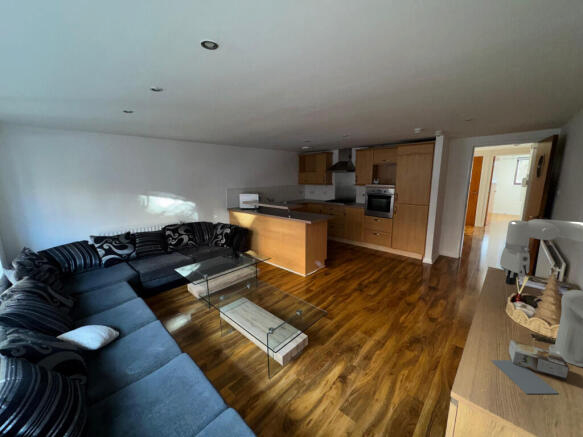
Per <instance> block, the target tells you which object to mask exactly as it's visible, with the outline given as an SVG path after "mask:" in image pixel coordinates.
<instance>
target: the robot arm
mask: <svg viewBox="0 0 583 437" xmlns="http://www.w3.org/2000/svg"><path fill="white" fill-rule="evenodd" d="M557 237H558V238H563V239H568V240H571V241H575V242H578V243H580V242H581V243H583V221H569V220H559V219H558V220H557V219H545V218H544V219H542V218H539V219H538V218H534V219H529V220H528V221H525V220H517V219H515V220H510V221H509V222H508V225H507V232H506V239H505V246H504V247H503V250H502V252H501V256H500V261H499V264H500V266H501V267H500V268H501V269H502V270H504V272H505V276H506V279H505V284H506V285H509V286H515V285H516V283H517V278H523V277H526V274H528V273H530V272H529V271H530V262H531V261H530V260H531V259H530V258H531V257H530V252H529V251H530V248H529V243H530V238H531V239H537V240H543V241H549V240H554V239H556V238H557ZM560 302H561V315H560V319H559V325H558V328H557V332H556V338H555V344H550V345H549V347H548V349H549V350H548V351H551V352H554V353H557V354H561V356H562V357H563V359H564V360H565V362H566V363H567V364H570V365H573V366H576V367H579V368H583V290H580V289H571V290H567V291H565V292H564V293H563V294H562V296H561V300H560Z"/></svg>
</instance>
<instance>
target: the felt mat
mask: <svg viewBox="0 0 583 437" xmlns="http://www.w3.org/2000/svg"><path fill="white" fill-rule="evenodd" d="M490 361H491V362H492V363H493V364H494V365H495V366H496V367H497V368H498V369H499V370H500V371H501V372H503V374H504V375H505V376H507V377H508V378H509V380H511V381H512V382H513V383H514V384H515V385H516V386H518V388H519V389H521V390H522V391H523V392H524V393H525V394H526V395H558V394H559V392H558V391H557V390H556V389H554V388H553V387H552V386H550V385H549V384H548V383H547V382H546V381H544V379H542V378H541V377H539V376H538V375H537V374H536V373H535V372H533V371H532V369H529V368H526V367H523V366H520V365H517V364H515V363H512V360H511V359H501V360H500V359H497V360H496V359H495V360H493V359H491V360H490Z"/></svg>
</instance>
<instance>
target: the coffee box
mask: <svg viewBox="0 0 583 437" xmlns="http://www.w3.org/2000/svg"><path fill="white" fill-rule="evenodd" d="M508 353H509V356H510V360H512V363H515V364H517V365H520V366H523V367H526V368H529V369H530V370H531V371H532V370H533V371H536V372H538V373H542V374H545V375H547V376H551V377H554V378H557V379H559V380H563V381H567V377H568V375H569V372H570V371H569V370H570V367H569V364H568V363H567V362H565V360H564V359H563V357H562V356H561V354H557V353H554V352H551V351H550V350H547V349H543V348H540V347H536V346H533V345H531V344H530V345H529V344H526V343H522V342H519V341H516V340H512V339H511V340H510V343H509V348H508Z"/></svg>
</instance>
